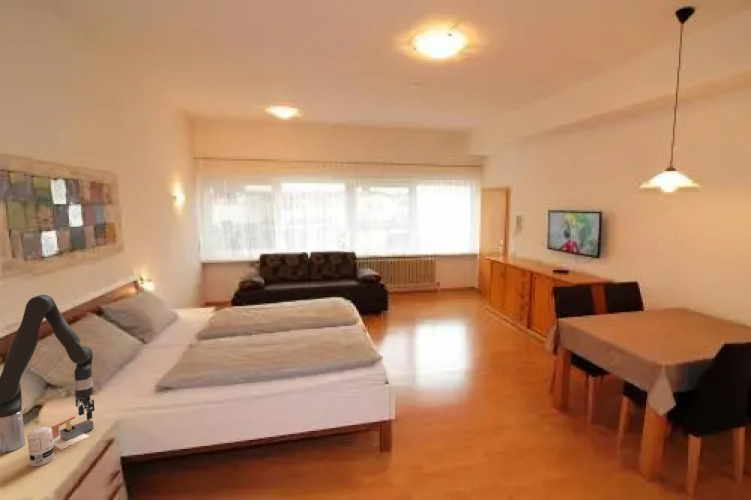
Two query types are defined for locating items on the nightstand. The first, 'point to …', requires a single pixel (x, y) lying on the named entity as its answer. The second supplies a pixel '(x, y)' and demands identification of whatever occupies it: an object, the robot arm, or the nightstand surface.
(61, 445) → the board
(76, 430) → the link
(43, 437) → the supplement can
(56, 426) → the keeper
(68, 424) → the cylinder
